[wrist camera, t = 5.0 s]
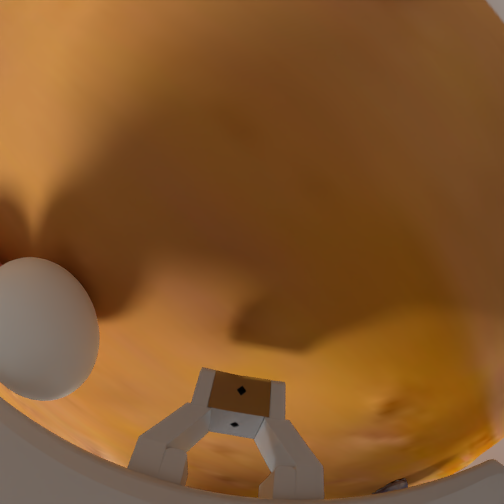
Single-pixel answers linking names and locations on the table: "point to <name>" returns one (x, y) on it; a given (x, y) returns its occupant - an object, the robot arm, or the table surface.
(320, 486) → the robot arm
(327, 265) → the table surface
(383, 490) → the flask
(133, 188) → the table surface
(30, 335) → the cue ball
